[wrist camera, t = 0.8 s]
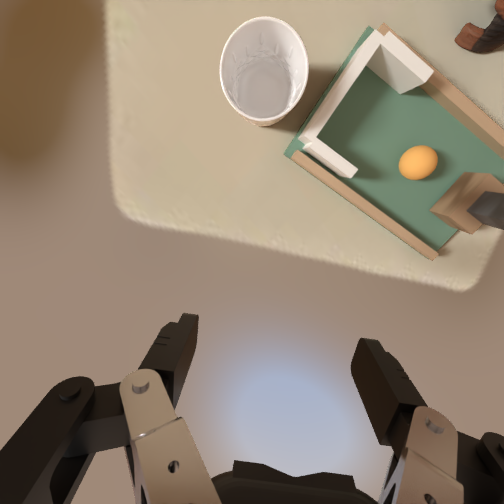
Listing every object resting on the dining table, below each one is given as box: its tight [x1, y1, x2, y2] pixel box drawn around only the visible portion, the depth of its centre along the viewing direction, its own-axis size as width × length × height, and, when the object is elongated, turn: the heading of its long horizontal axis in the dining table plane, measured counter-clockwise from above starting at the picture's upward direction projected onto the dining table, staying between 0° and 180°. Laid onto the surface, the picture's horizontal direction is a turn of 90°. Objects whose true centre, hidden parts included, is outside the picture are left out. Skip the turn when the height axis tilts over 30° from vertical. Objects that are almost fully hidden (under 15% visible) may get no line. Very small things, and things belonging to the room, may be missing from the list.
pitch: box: [284, 23, 504, 261], centre depth 31 cm, size 16×26×6 cm, turn 56°
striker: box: [429, 172, 504, 234], centre depth 30 cm, size 6×4×10 cm, turn 146°
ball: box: [399, 145, 438, 180], centre depth 31 cm, size 4×4×4 cm
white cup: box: [220, 17, 309, 127], centre depth 28 cm, size 8×8×10 cm
